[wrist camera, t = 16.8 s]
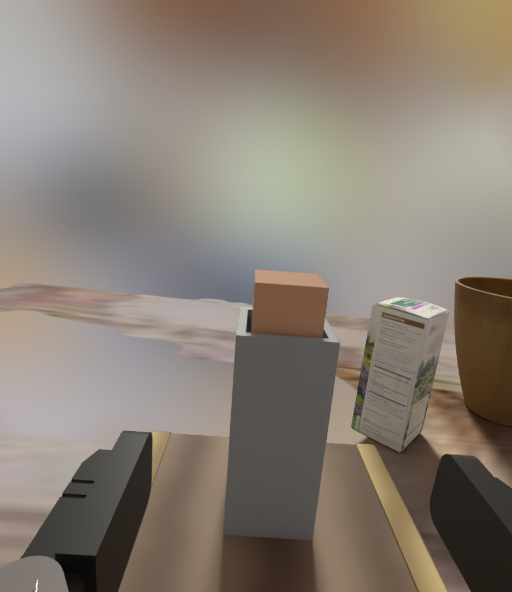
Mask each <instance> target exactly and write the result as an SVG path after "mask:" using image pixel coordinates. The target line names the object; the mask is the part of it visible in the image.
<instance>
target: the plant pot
mask: <svg viewBox="0 0 512 592" xmlns="http://www.w3.org/2000/svg"><path fill="white" fill-rule="evenodd" d="M454 309H455V310H454V323H455V324H454V326H455V343H456V354H457V361H458V369H459V375H460V381H461V386H462V391H463V396H464V400H465V403H466V405H467V407H468V408H469V409H470V410H471V411H473V412H474V413H476V414H477V415H479V416H481V417H483V418H485V419H487V420H489V421H492V422H495V423H498V424H502V425H506V426H511V427H512V279H506V278H495V277H461V278H457V279H456V280H455V307H454Z"/></svg>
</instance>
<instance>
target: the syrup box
mask: <svg viewBox="0 0 512 592" xmlns="http://www.w3.org/2000/svg"><path fill="white" fill-rule="evenodd" d="M448 315H449V311H448V310H447V309H444V308H441V307H438V306H436V305H433V304H429V303H426V302H422V301H418V300H414V299H408V298H399V297H396V298H393V299H390V300H386V301H383V302H380V303H377V304H374V305H373V306H372V311H371V317H370V323H369V329H368V334H367V340H366V345H365V351H364V357H363V362H362V368H361V374H360V379H359V385H358V391H357V396H356V402H355V408H354V414H353V419H352V425H351V427H352V429H354V430H356V431H358V432H359V433H361V434H363V435H365V436H367V437H369V438H371V439H373V440H375V441H377V442H379V443H381V444H383V445H385V446H387V447H389V448H391V449H393V450H395V451H397V452H399V453H401V452H402V451H403V450H404V449H405V448H406V447H407V446H408V445H409V444H410V443H411V442H412V441H413V440H414V439H415V438H416V437H417V436H418V435H419V434H420V433H421V432H422V428H423V424H424V420H425V415H426V411H427V407H428V402H429V398H430V393H431V389H432V385H433V381H434V376H435V372H436V368H437V363H438V359H439V354H440V350H441V346H442V341H443V337H444V332H445V328H446V323H447V319H448Z"/></svg>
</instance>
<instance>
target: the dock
mask: <svg viewBox="0 0 512 592" xmlns="http://www.w3.org/2000/svg"><path fill="white" fill-rule="evenodd" d="M150 433H152V438H153V445H152V484H151V492H150V497H149V501H148V505H147V508H146V511H145V514H144V517H143V520H142V523H141V526H140V529H139V532H138V535H137V538H136V540H135V543H134V546H133V549H132V552H131V555H130V558H129V561H128V564H127V567H126V570H125V573H124V576H123V579H122V582H121V585H120V588H119V591H118V592H449V591H448V589H447V587H446V585H445V583H444V581H443V579H442V577H441V575H440V573H439V571H438V569H437V567H436V565H435V563H434V561H433V559H432V557H431V555H430V553H429V551H428V549H427V547H426V545H425V543H424V541H423V539H422V537H421V535H420V533H419V531H418V529H417V527H416V525H415V523H414V521H413V519H412V517H411V515H410V513H409V511H408V509H407V507H406V505H405V503H404V501H403V499H402V497H401V495H400V493H399V491H398V489H397V487H396V485H395V483H394V481H393V479H392V477H391V475H390V473H389V471H388V469H387V467H386V466H385V464H384V462H383V460H382V458H381V456H380V454H379V452H378V450H377V448H376V446H374V445H373V444H357V443H356V445H349V444H333V443H326V447H325V454H324V461H323V469H322V476H321V483H320V490H319V498H318V505H317V512H316V519H315V526H314V534H313V540H298V539H283V538H267V537H252V536H236V535H223V529H224V514H225V498H226V483H227V468H228V453H229V437H220V436H219V437H218V436H203V435H186V434H171V432H163V431H152V432H150Z"/></svg>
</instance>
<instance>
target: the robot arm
mask: <svg viewBox="0 0 512 592" xmlns="http://www.w3.org/2000/svg"><path fill="white" fill-rule="evenodd" d="M152 445H153V438H152V433H149V432H136V431H123V432H122V433H121V434H120V437H119V438H118V440H117V442H116V443H115V445H114V447H113V449H112V450H101V449H99V450H98V451H96V452H95V453H94V454H93V455H91V456H90V457H89V458H88V459H86V460H85V461H84V462H82V464H81V465H80V467H79V468H78V470H77V472H76V473H75V475H74V476H73V478H72V480H71V483H69V484H68V486H67V487H66V489H65V490H64V492H63V494H62V497H60V498H59V500H58V501H57V503H56V504H55V506H54V508H53V509H52V511H51V512H50V514H49V515H48V517H47V518H46V520H45V522H44V523H43V525H42V526H41V528H40V529H39V531H38V533H37V534H36V536H35V537H34V539H33V540H32V542H31V543H30V545H29V547H28V548H27V550H26V551H25V553H24V554H23V556H22V557H21V558H20V559H19V560H16V561H14V562H12V563H10V564H8V565H6V566H4V567H3V568H1V569H0V592H118V591H119V588H120V585H121V582H122V579H123V576H124V573H125V570H126V567H127V564H128V561H129V558H130V555H131V552H132V549H133V546H134V543H135V540H136V538H137V535H138V532H139V529H140V526H141V523H142V520H143V517H144V514H145V511H146V508H147V505H148V501H149V497H150V492H151V484H152ZM430 511H431V517H432V520H433V523H434V525H435V527H436V529H437V531H438V533H439V534H440V536H441V538H442V540H443V542H444V543H445V545H446V547H447V549H448V551H449V552H450V554H451V556H452V558H453V560H454V561H455V563H456V565H457V567H458V569H459V570H460V572H461V574H462V576H463V578H464V579H465V581H466V583H467V585H468V587H469V588H470V590H471V592H512V488H510V487H509V486H508V485H506V484H505V483H504V482H502V481H501V480H499V479H498V478H496V477H493V476H492V474H491V473H490V472H489V471H488V470H487V469H486V467H485V466H484V465H483V464H482V463H481V462H480V461H479V460H478V459H477V458H476V457H474V456H465V455H451V454H445V455H443V456H442V458H441V460H440V464H439V467H438V471H437V475H436V479H435V483H434V487H433V491H432V495H431V499H430Z"/></svg>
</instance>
